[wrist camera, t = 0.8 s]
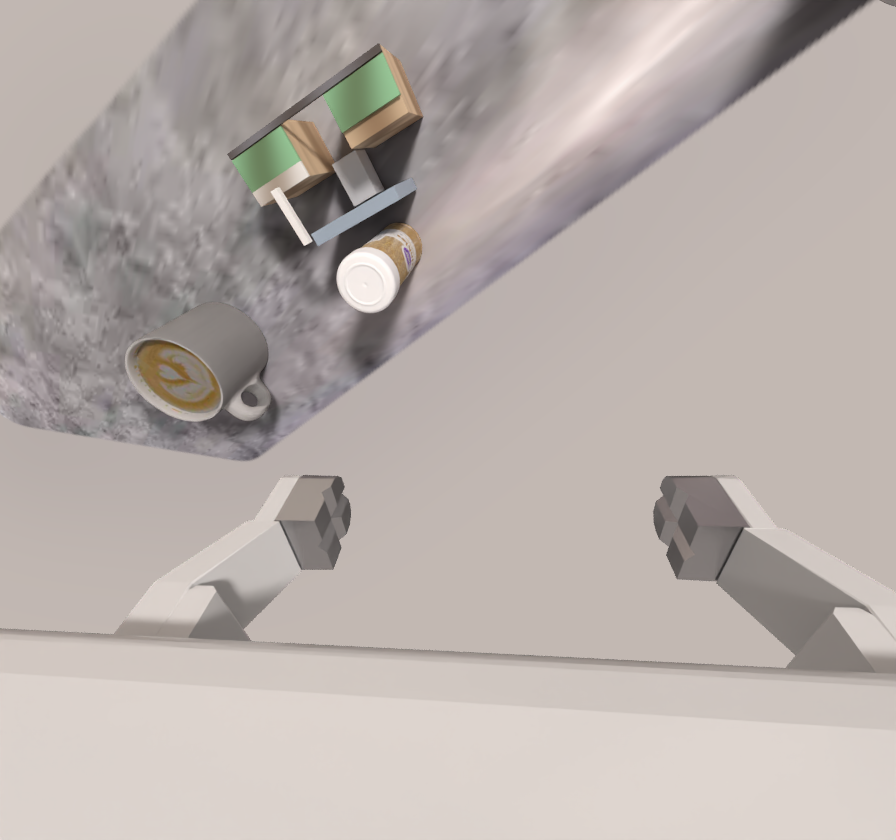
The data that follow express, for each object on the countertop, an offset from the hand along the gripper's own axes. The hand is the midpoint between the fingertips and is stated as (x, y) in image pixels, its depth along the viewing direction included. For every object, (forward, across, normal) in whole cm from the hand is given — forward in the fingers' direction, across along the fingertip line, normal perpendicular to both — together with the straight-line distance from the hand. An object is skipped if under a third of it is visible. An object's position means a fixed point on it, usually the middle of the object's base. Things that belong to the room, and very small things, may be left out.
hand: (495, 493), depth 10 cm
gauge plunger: (+35, +12, -5) cm, 37 cm away
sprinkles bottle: (+35, +9, 0) cm, 37 cm away
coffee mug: (+36, +32, +11) cm, 49 cm away
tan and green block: (+35, +13, -9) cm, 38 cm away
